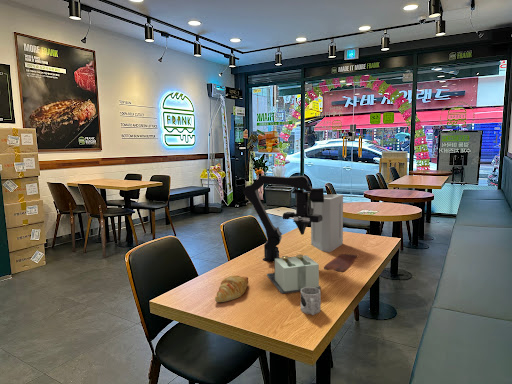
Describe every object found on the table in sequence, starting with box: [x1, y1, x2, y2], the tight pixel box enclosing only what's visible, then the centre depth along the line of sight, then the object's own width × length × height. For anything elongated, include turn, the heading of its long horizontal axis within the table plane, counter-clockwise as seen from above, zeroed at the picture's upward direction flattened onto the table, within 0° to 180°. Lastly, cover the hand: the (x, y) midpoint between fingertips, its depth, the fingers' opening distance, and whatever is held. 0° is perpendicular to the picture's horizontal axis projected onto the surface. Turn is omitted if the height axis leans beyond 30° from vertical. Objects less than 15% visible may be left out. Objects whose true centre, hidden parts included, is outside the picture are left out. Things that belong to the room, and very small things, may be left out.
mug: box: [300, 287, 322, 316], centre depth 113 cm, size 10×7×7 cm, turn 178°
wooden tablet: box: [323, 253, 358, 273], centre depth 163 cm, size 27×10×2 cm, turn 148°
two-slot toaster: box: [274, 254, 320, 291], centre depth 135 cm, size 12×14×9 cm
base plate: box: [266, 254, 322, 295], centre depth 139 cm, size 20×16×11 cm
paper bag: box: [310, 193, 344, 253], centre depth 189 cm, size 19×15×28 cm
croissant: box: [214, 275, 249, 303], centre depth 129 cm, size 21×10×8 cm, turn 152°
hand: (302, 234), depth 164 cm, fingers closed
